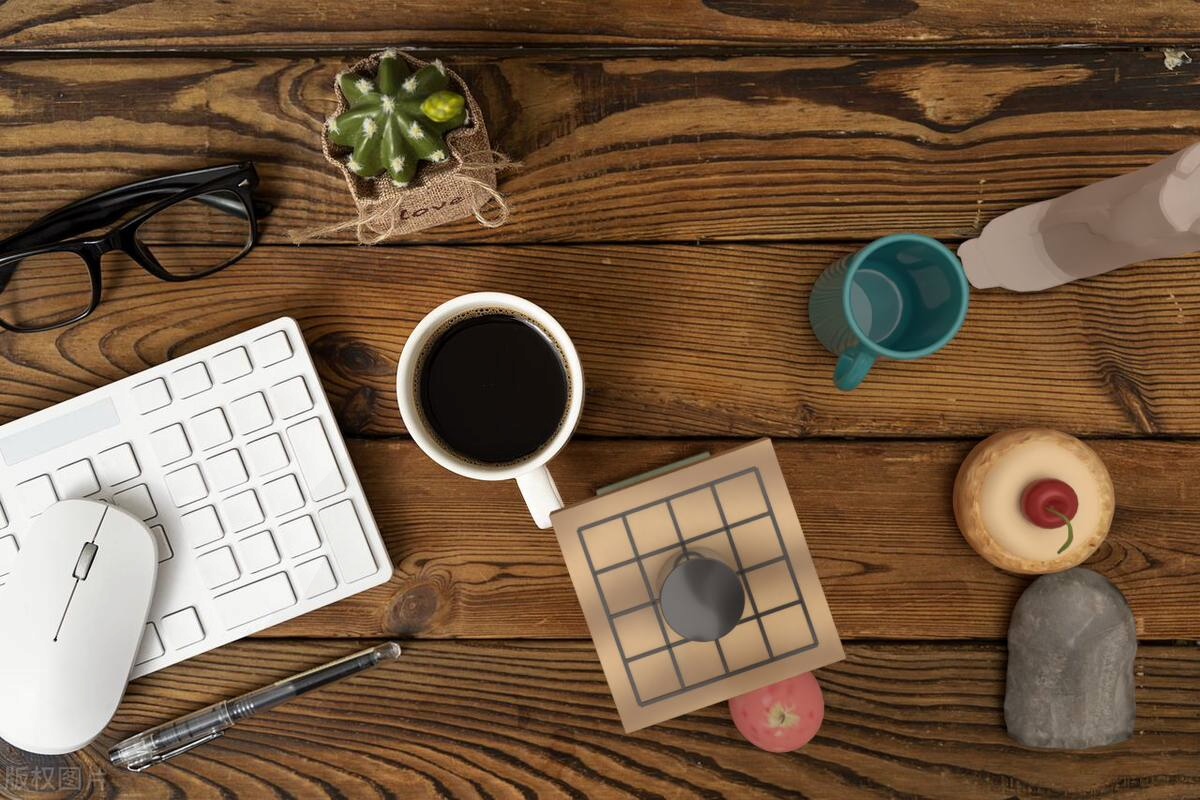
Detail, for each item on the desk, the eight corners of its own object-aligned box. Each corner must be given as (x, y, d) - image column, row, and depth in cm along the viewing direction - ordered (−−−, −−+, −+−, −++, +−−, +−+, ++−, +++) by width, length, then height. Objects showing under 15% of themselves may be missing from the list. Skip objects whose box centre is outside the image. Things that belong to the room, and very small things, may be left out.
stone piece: (748, 611, 51) (757, 626, 48) (672, 637, 51) (676, 654, 48) (721, 535, 51) (729, 545, 48) (645, 562, 51) (648, 573, 48)
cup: (773, 366, 72) (804, 364, 61) (834, 237, 72) (876, 211, 61) (870, 411, 72) (918, 418, 61) (931, 282, 72) (991, 264, 61)
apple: (756, 744, 73) (775, 789, 65) (706, 674, 73) (718, 711, 65) (827, 693, 73) (854, 732, 65) (776, 624, 73) (797, 654, 65)
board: (776, 575, 73) (847, 659, 51) (620, 629, 73) (626, 735, 51) (722, 420, 72) (770, 438, 51) (566, 474, 73) (548, 515, 51)
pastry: (1062, 408, 72) (1126, 412, 63) (1098, 542, 72) (1167, 565, 63) (924, 446, 72) (968, 456, 63) (960, 580, 73) (1010, 608, 64)
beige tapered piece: (949, 228, 72) (1081, 170, 52) (1109, 181, 72) (1304, 105, 52) (972, 310, 72) (1113, 284, 52) (1132, 264, 72) (1335, 220, 52)
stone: (1002, 559, 72) (990, 723, 75) (1019, 577, 68) (1006, 749, 71) (1140, 563, 71) (1123, 730, 73) (1166, 582, 67) (1147, 757, 69)
